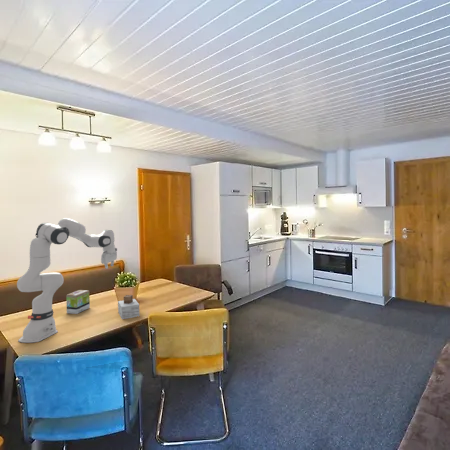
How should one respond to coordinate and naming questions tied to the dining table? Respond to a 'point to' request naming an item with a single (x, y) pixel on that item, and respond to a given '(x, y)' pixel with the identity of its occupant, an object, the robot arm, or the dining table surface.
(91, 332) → the dining table surface
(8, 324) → the dining table surface
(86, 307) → the tea box
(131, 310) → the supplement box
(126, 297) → the walnut block
